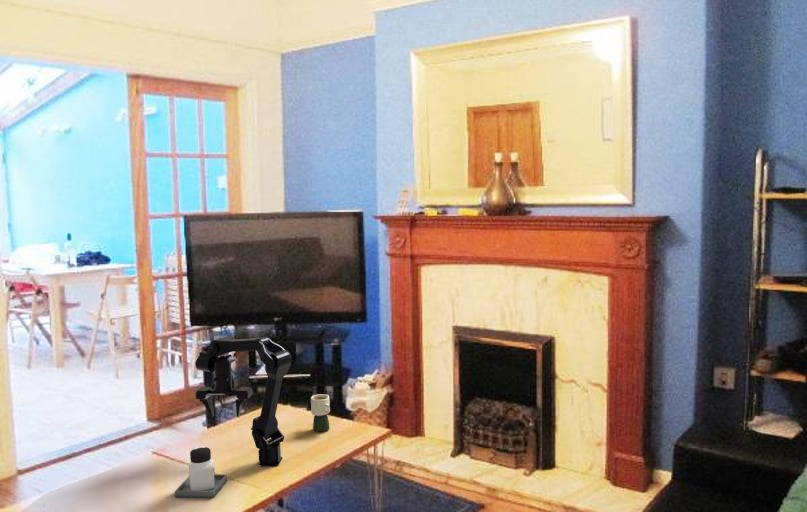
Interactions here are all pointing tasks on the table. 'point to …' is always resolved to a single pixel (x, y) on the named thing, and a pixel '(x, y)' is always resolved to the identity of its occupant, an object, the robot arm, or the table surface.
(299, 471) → the table surface
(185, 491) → the tray
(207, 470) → the medicine bottle
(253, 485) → the table surface
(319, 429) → the character mug
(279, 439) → the robot arm
